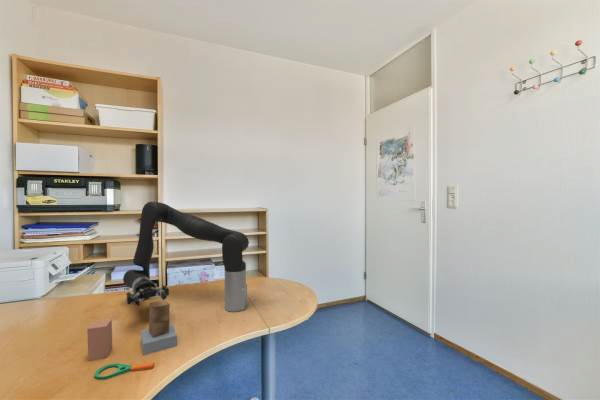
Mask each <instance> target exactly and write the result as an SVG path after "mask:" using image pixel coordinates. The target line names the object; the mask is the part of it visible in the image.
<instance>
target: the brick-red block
mask: <svg viewBox="0 0 600 400" xmlns="http://www.w3.org/2000/svg"><path fill="white" fill-rule="evenodd" d="M86 331H87V362H88V361H95V360H101V359H105V358H108V357H109V355H110V353H111V351H113V320H112V318H111V319H110V318H109V319H102V320H95V321H94V320H93V321H92V323H91V324H90V325H89V326H88V328H87V329H86Z"/></svg>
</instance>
